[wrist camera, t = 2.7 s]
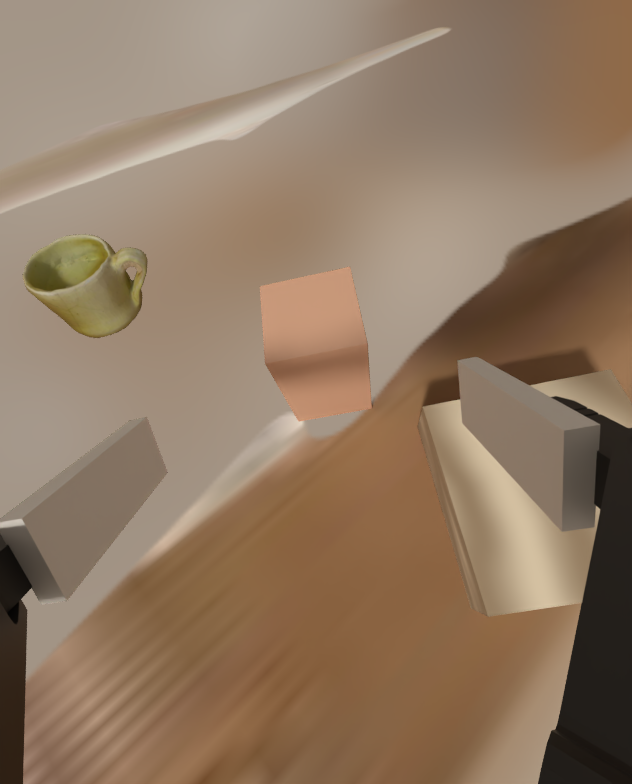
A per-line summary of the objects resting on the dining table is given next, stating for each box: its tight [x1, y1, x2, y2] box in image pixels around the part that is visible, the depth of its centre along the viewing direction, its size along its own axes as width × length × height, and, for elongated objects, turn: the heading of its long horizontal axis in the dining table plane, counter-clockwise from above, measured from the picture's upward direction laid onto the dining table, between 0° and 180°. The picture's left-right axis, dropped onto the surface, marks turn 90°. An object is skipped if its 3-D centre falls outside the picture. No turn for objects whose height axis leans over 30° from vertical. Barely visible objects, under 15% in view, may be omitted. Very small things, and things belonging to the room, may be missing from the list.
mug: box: [23, 234, 147, 338], centre depth 41 cm, size 12×10×10 cm
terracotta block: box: [260, 267, 372, 421], centre depth 30 cm, size 7×7×11 cm
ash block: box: [418, 369, 632, 617], centre depth 26 cm, size 14×14×5 cm
